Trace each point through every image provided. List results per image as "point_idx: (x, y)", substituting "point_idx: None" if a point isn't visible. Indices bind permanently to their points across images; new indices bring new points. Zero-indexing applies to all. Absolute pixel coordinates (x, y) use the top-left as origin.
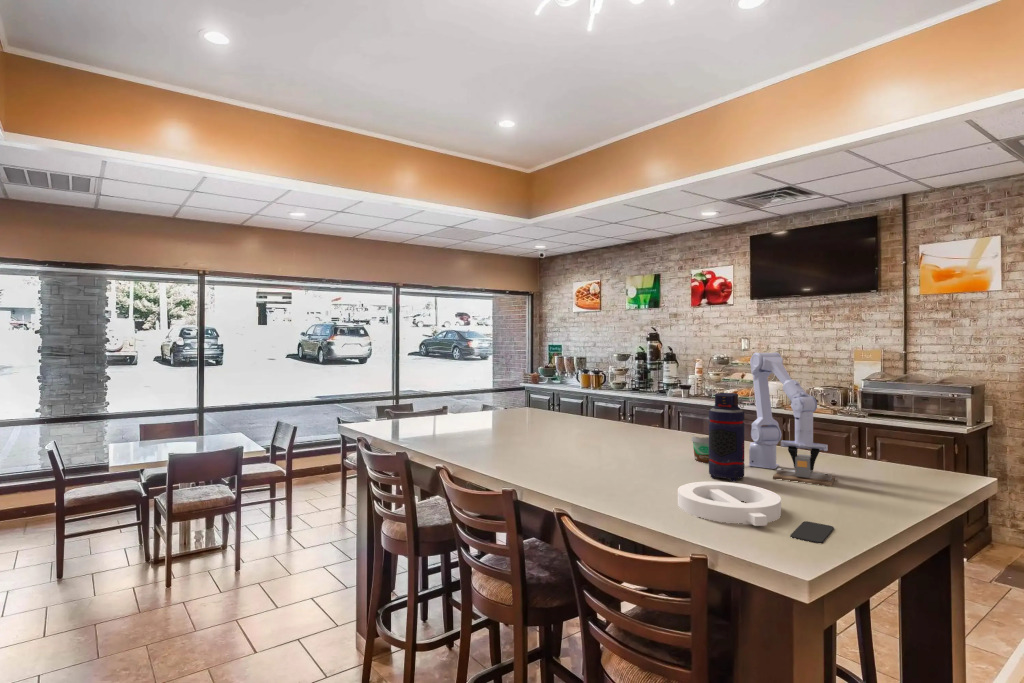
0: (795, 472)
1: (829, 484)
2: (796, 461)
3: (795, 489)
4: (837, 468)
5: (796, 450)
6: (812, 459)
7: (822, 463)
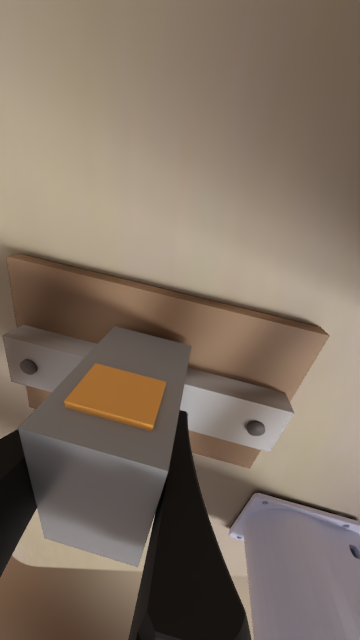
0: (186, 358)
1: (18, 256)
2: (164, 423)
3: (221, 19)
4: None
5: (137, 616)
6: (17, 446)
7: None
